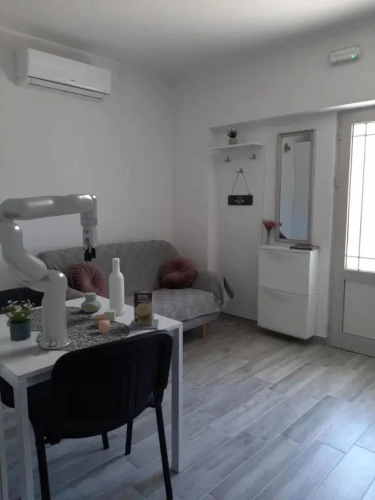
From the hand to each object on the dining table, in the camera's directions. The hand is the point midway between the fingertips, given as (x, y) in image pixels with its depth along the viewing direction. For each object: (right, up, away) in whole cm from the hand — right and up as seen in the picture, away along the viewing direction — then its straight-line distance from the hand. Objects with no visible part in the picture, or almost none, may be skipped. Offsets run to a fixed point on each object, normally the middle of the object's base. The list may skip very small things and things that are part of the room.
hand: (90, 259), depth 178 cm
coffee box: (+23, -32, +11) cm, 41 cm away
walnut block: (+3, -32, +10) cm, 34 cm away
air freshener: (-8, -29, +36) cm, 47 cm away
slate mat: (+24, -32, +11) cm, 41 cm away
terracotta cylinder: (+6, -33, +1) cm, 34 cm away
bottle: (+7, -30, +30) cm, 43 cm away
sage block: (+5, -31, +19) cm, 37 cm away
